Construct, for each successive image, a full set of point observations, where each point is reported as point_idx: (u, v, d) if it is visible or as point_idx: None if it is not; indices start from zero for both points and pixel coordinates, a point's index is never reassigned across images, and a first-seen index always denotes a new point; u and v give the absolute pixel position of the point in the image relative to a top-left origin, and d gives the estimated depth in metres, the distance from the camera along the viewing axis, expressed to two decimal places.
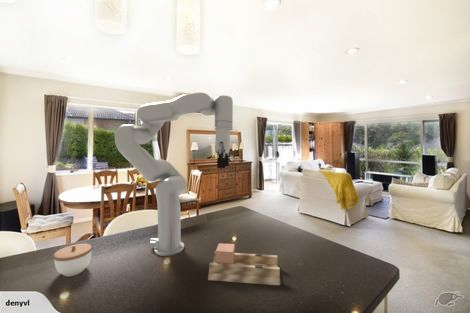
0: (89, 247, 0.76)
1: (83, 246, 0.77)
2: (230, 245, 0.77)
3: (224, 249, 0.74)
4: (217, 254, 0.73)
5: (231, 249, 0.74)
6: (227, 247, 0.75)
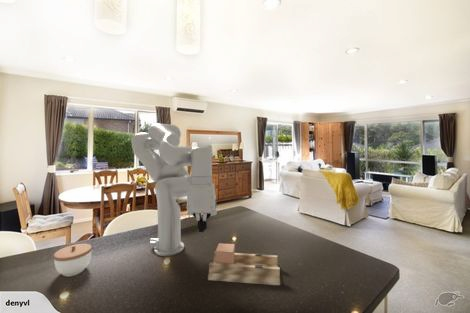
0: (89, 247, 0.76)
1: (83, 246, 0.77)
2: (230, 245, 0.77)
3: (224, 249, 0.74)
4: (217, 254, 0.73)
5: (231, 249, 0.74)
6: (227, 247, 0.75)
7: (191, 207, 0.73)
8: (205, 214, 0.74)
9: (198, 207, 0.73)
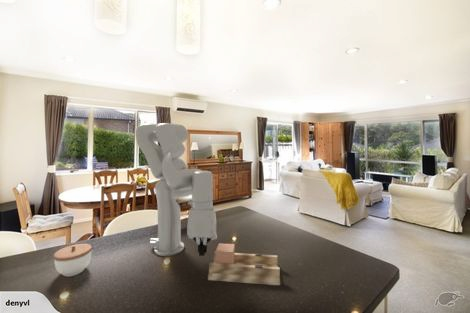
0: (89, 247, 0.76)
1: (83, 246, 0.77)
2: (230, 245, 0.77)
3: (224, 249, 0.74)
4: (217, 254, 0.73)
5: (231, 249, 0.74)
6: (227, 247, 0.75)
7: (191, 231, 0.74)
8: (205, 238, 0.75)
9: (198, 232, 0.73)
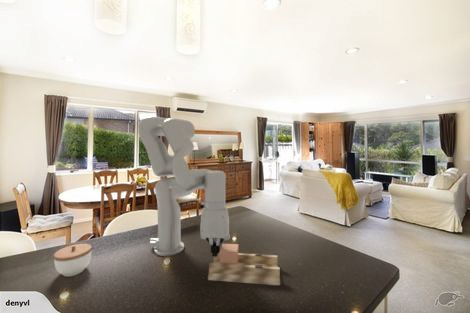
0: (89, 247, 0.76)
1: (83, 246, 0.77)
2: (234, 245, 0.77)
3: (228, 250, 0.73)
4: (221, 254, 0.73)
5: (235, 249, 0.74)
6: (231, 247, 0.75)
7: (205, 232, 0.73)
8: (218, 239, 0.74)
9: (211, 232, 0.73)
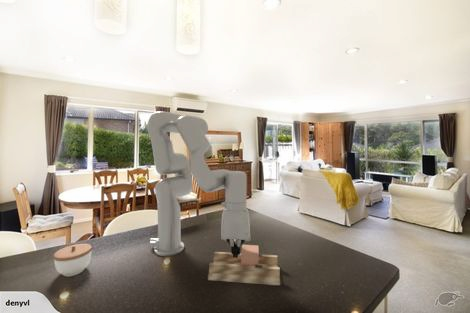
0: (89, 247, 0.76)
1: (83, 246, 0.77)
2: (254, 246, 0.76)
3: (249, 251, 0.73)
4: (242, 256, 0.72)
5: (256, 251, 0.73)
6: (252, 248, 0.74)
7: (226, 233, 0.72)
8: (239, 240, 0.73)
9: (233, 233, 0.72)
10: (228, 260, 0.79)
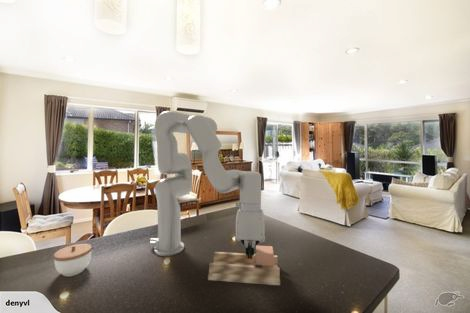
0: (89, 247, 0.76)
1: (83, 246, 0.77)
2: (268, 247, 0.75)
3: (264, 252, 0.72)
4: (257, 257, 0.71)
5: (271, 251, 0.72)
6: (266, 249, 0.74)
7: (240, 234, 0.72)
8: (254, 241, 0.73)
9: (248, 234, 0.71)
10: (228, 260, 0.79)
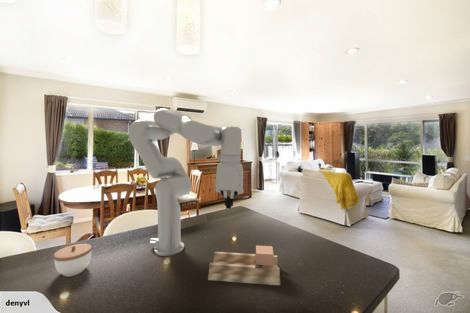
0: (89, 247, 0.76)
1: (83, 246, 0.77)
2: (268, 247, 0.75)
3: (264, 252, 0.72)
4: (257, 257, 0.71)
5: (271, 251, 0.72)
6: (266, 249, 0.74)
7: (220, 184, 0.76)
8: (233, 192, 0.77)
9: (226, 184, 0.76)
10: (228, 260, 0.79)
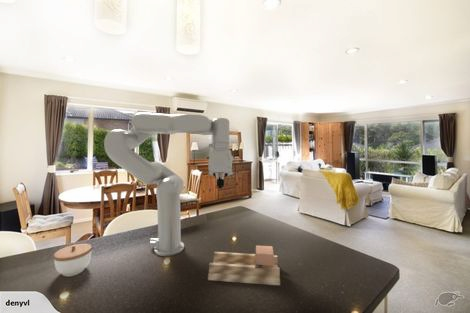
0: (89, 247, 0.76)
1: (83, 246, 0.77)
2: (268, 247, 0.75)
3: (264, 252, 0.72)
4: (257, 257, 0.71)
5: (271, 251, 0.72)
6: (266, 249, 0.74)
7: (212, 167, 0.89)
8: (223, 173, 0.90)
9: (218, 167, 0.89)
10: (228, 260, 0.79)
